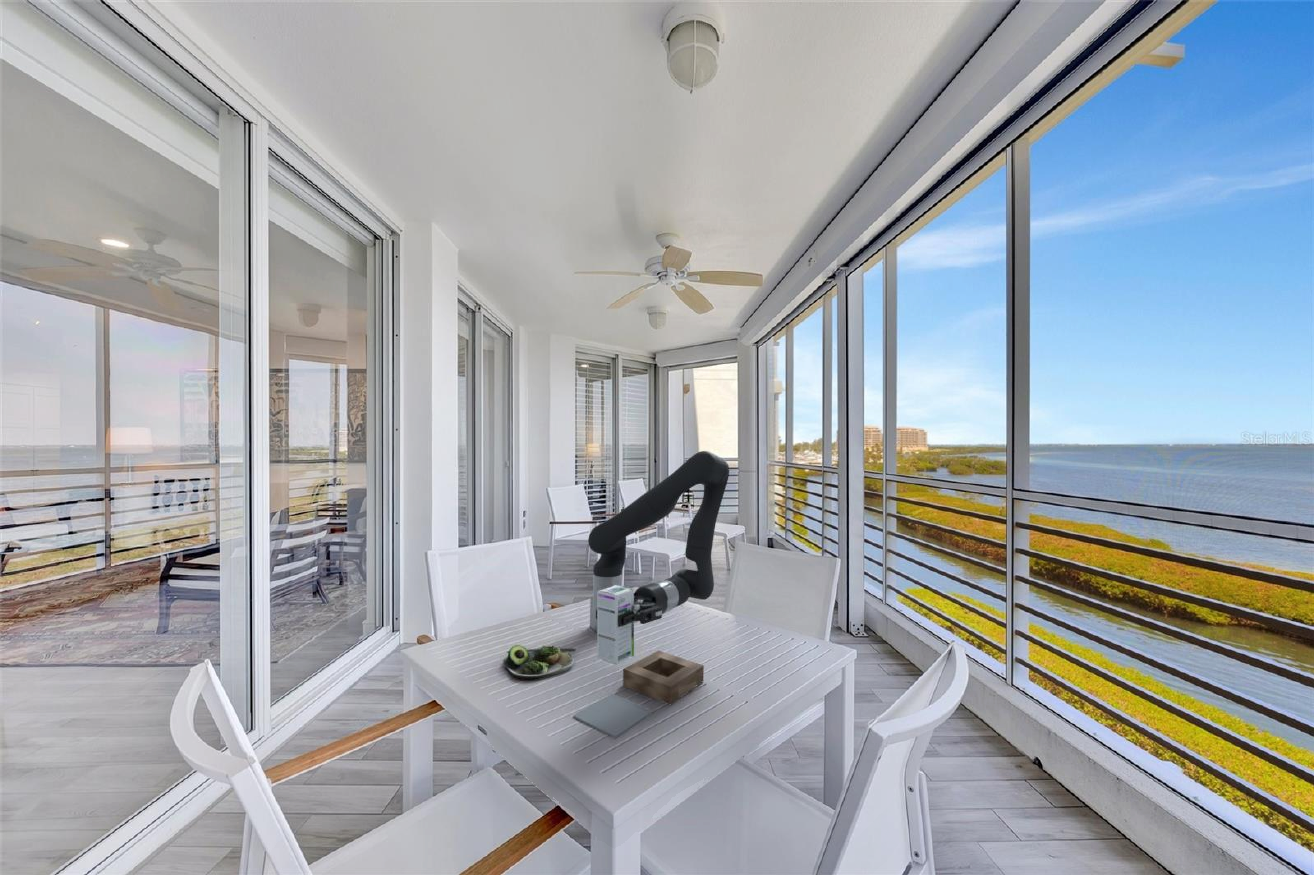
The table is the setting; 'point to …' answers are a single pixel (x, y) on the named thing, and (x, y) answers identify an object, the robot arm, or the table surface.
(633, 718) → the mat
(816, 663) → the table surface
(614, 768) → the table surface
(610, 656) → the syrup box
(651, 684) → the socket block
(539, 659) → the salad plate
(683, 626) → the table surface
